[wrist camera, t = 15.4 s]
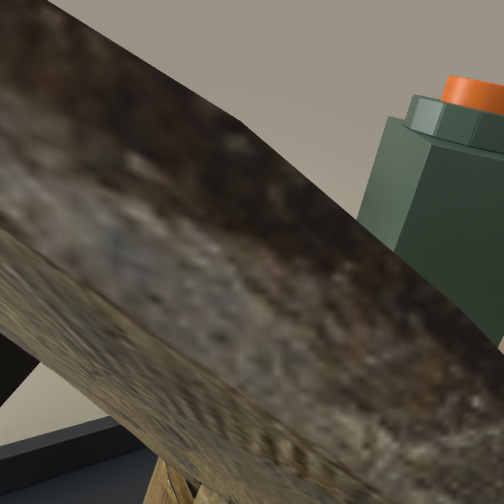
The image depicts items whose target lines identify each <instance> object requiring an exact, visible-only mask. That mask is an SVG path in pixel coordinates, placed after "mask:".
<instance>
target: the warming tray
mask: <svg viewBox="0 0 504 504" xmlns="http://www.w3.org/2000/svg"><path fill="white" fill-rule="evenodd" d="M158 457H159V456H158V455H156V454H155V453H154V452H153V451H152V450H151V449H150V448H148V447H147V446H146V445H145V444H144V443H143V442H142V441H140V440H139V439H138V438H137V437H136V436H135V435H134V434H132V433H131V432H130V431H129V430H128V429H126V428H125V427H124V426H122V425H121V424H120V423H119V422H117V421H116V420H115V419H113V418H112V417H111V416H107V417H104V418H100V419H96V420H93V421H89V422H86V423H82V424H78V425H75V426H71V427H68V428H64V429H61V430H57V431H53V432H50V433H46V434H43V435H39V436H35V437H32V438H28V439H25V440H21V441H18V442H14V443H10V444H7V445H3V446H0V504H143V501H144V498H145V495H146V492H147V489H148V486H149V483H150V480H151V478H152V475H153V472H154V469H155V466H156V463H157V460H158Z"/></svg>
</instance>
